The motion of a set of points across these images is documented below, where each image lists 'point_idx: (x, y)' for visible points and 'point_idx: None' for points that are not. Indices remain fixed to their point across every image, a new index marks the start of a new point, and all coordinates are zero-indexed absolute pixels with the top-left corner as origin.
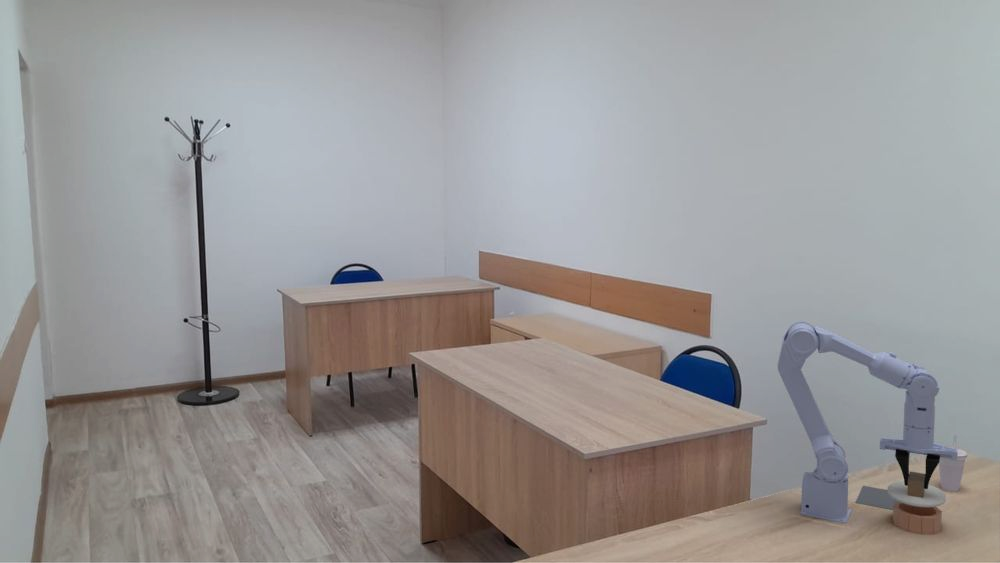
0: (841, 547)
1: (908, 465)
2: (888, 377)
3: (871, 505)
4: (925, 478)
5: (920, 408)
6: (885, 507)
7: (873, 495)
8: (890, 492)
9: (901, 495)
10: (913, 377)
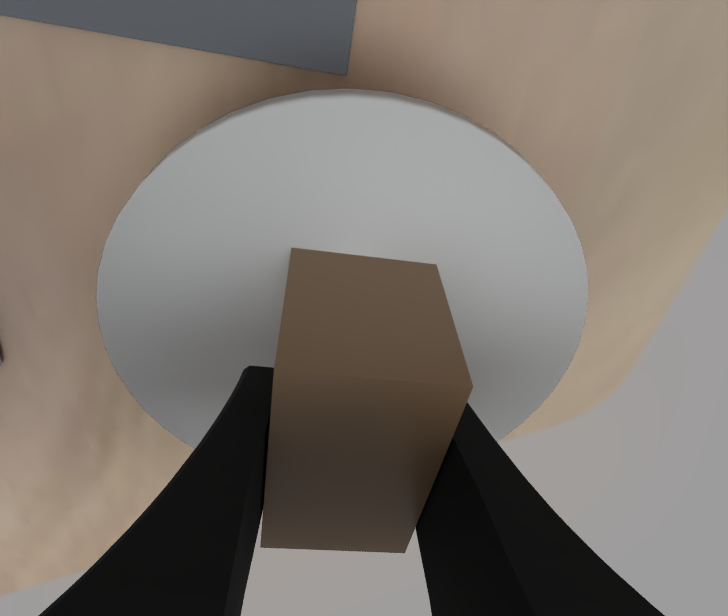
0: (74, 534)
1: (236, 585)
2: None
3: (32, 19)
4: (428, 567)
5: None
6: (140, 19)
7: None
8: (146, 406)
9: None
10: None
